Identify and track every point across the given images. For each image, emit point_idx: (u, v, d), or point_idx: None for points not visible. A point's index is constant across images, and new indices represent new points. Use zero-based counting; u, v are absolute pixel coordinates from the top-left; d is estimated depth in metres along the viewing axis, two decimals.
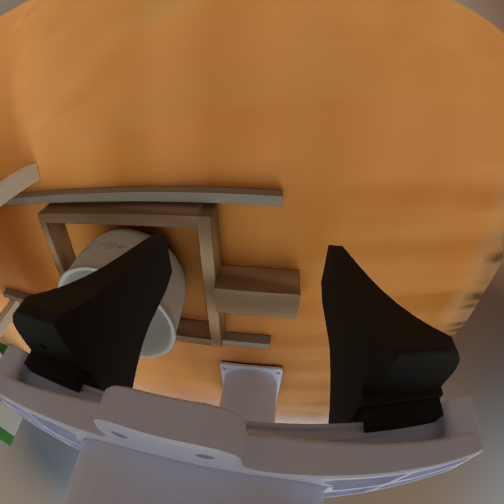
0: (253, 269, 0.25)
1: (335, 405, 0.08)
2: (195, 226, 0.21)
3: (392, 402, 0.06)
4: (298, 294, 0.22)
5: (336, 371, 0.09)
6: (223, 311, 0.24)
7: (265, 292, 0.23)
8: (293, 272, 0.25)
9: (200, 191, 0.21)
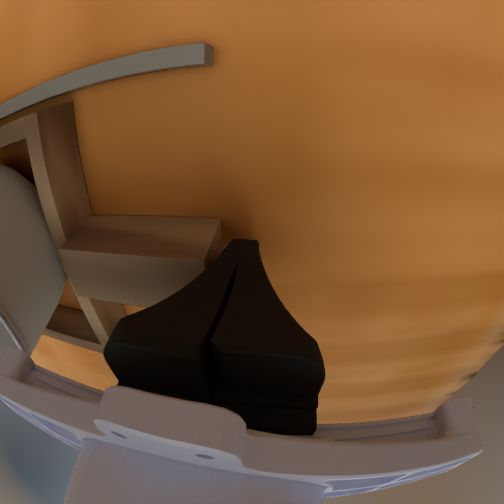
0: (137, 218, 0.13)
1: None
2: (23, 135, 0.08)
3: (248, 403, 0.06)
4: (200, 259, 0.10)
5: None
6: (86, 295, 0.12)
7: (135, 256, 0.10)
8: (208, 221, 0.12)
9: (70, 73, 0.08)
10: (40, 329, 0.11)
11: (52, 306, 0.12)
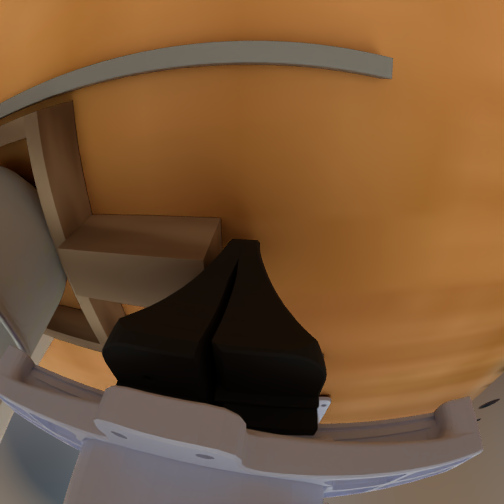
0: (137, 218, 0.13)
1: None
2: (23, 135, 0.08)
3: (249, 403, 0.06)
4: (199, 259, 0.10)
5: None
6: (85, 294, 0.12)
7: (134, 255, 0.10)
8: (207, 221, 0.12)
9: (215, 43, 0.08)
10: (40, 329, 0.11)
11: (52, 306, 0.12)
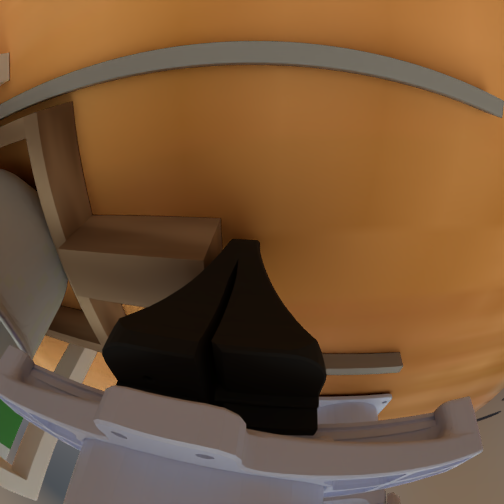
0: (137, 218, 0.13)
1: None
2: (23, 135, 0.08)
3: (249, 403, 0.06)
4: (199, 259, 0.10)
5: None
6: (86, 294, 0.12)
7: (134, 256, 0.10)
8: (207, 222, 0.12)
9: None
10: (42, 330, 0.11)
11: (53, 306, 0.12)
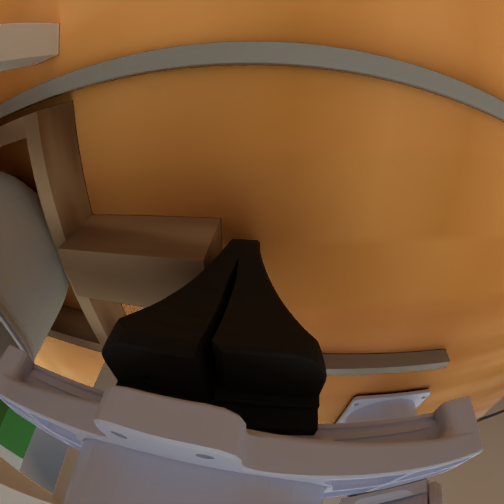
0: (137, 218, 0.13)
1: None
2: (23, 135, 0.08)
3: (249, 403, 0.06)
4: (199, 259, 0.10)
5: None
6: (86, 294, 0.12)
7: (134, 256, 0.10)
8: (207, 222, 0.12)
9: None
10: (43, 330, 0.11)
11: (54, 306, 0.12)
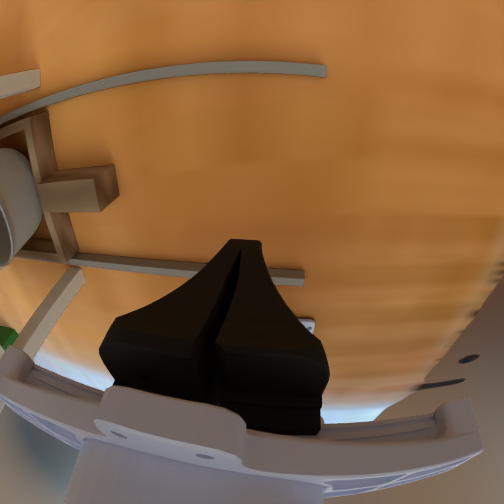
0: (77, 169, 0.21)
1: None
2: (23, 128, 0.16)
3: (252, 403, 0.06)
4: (92, 179, 0.18)
5: None
6: (48, 210, 0.20)
7: (68, 181, 0.18)
8: (106, 166, 0.20)
9: (230, 61, 0.15)
10: (23, 230, 0.19)
11: (32, 220, 0.20)
